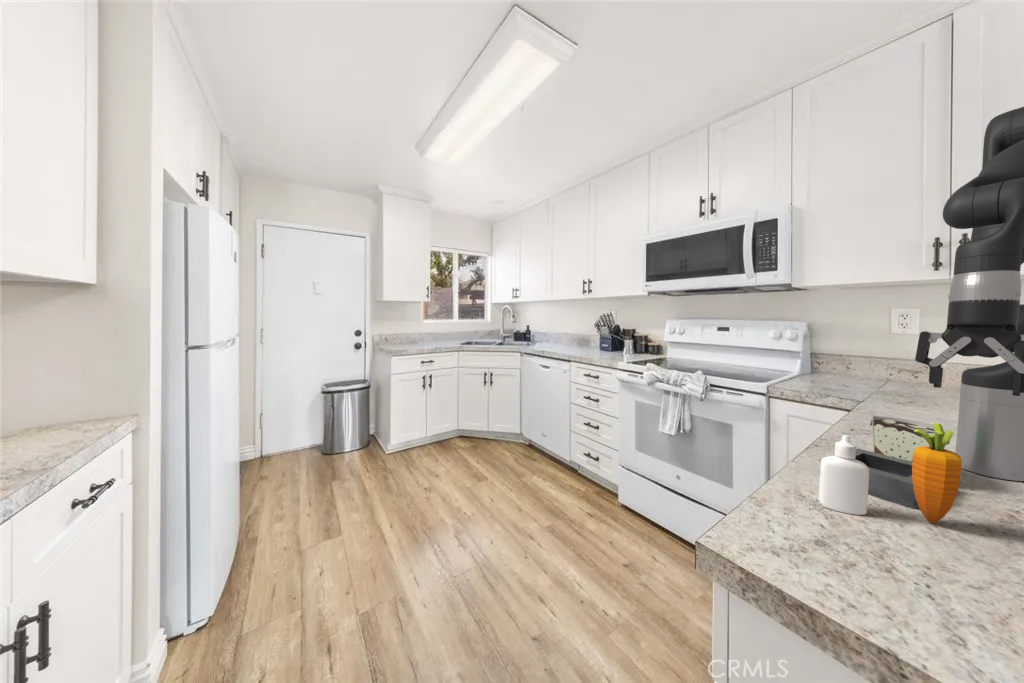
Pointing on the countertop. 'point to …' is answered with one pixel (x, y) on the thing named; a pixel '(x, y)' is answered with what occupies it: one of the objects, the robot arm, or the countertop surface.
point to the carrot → (935, 474)
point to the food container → (898, 436)
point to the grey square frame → (889, 477)
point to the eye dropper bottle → (844, 480)
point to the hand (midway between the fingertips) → (974, 391)
